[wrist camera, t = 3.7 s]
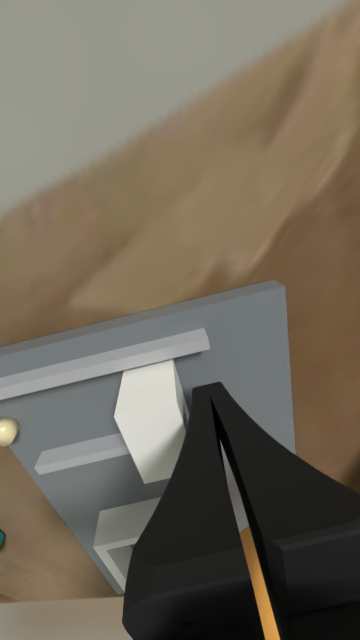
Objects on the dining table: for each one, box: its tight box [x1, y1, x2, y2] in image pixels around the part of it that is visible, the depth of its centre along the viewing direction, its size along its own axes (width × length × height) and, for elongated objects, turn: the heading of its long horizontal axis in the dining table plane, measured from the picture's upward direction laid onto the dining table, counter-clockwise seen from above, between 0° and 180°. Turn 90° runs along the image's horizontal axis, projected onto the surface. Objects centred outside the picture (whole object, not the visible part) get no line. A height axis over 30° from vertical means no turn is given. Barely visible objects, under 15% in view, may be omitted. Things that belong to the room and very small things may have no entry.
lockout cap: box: [240, 526, 280, 640], centre depth 17 cm, size 4×4×6 cm
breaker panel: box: [0, 279, 296, 595], centre depth 16 cm, size 16×24×3 cm, turn 13°
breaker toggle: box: [114, 358, 190, 484], centre depth 12 cm, size 2×4×3 cm, turn 13°
